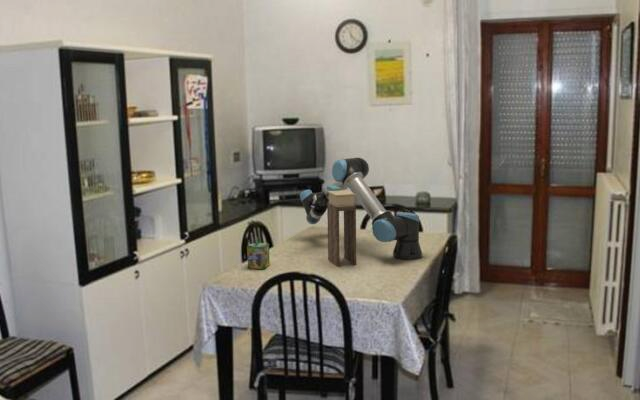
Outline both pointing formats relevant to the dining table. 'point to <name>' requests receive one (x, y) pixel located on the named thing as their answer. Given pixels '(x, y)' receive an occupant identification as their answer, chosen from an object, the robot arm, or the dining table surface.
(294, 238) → the dining table surface
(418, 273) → the dining table surface
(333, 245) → the walnut stand
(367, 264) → the dining table surface
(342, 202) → the kraft mailer box
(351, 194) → the mailer lid
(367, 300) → the dining table surface
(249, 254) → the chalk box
